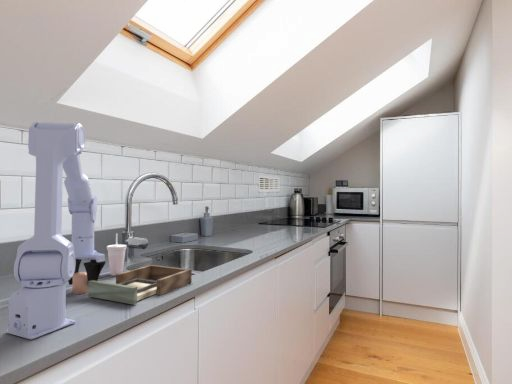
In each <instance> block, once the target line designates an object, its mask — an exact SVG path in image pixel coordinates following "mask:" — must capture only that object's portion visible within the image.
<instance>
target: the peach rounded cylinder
mask: <svg viewBox="0 0 512 384" xmlns="http://www.w3.org/2000/svg"><path fill="white" fill-rule="evenodd" d="M71 288H72V294H74V295H84V294H88V282H87V273H86V271H79V272H78V273H74V275H73V283H72V287H71Z"/></svg>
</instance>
